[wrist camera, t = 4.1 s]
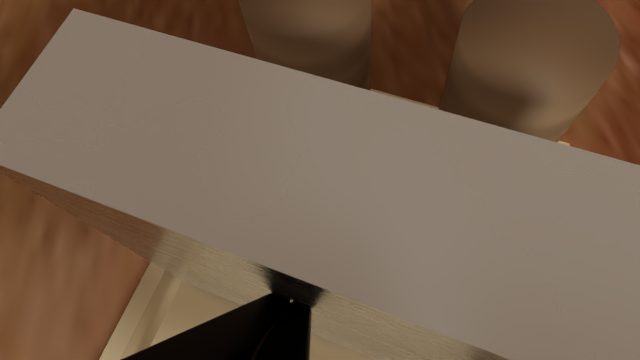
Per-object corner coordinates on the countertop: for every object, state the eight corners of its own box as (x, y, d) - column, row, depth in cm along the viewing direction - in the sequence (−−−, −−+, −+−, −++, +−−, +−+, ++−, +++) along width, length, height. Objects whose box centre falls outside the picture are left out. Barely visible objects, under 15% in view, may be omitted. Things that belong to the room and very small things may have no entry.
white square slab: (477, 401, 14) (674, 422, 5) (187, 283, 17) (-31, 153, 7) (501, 305, 15) (701, 183, 6) (225, 206, 18) (73, 8, 8)
